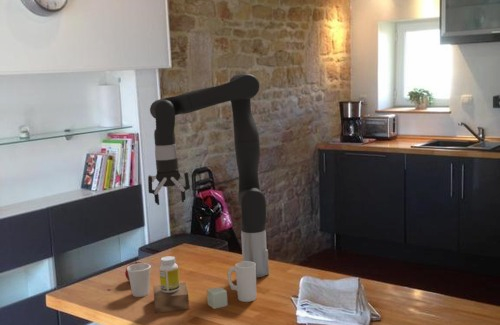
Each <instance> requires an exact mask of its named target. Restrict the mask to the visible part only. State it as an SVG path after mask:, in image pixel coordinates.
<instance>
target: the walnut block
mask: <svg viewBox="0 0 500 325" xmlns="http://www.w3.org/2000/svg"><path fill="white" fill-rule="evenodd" d="M152 286H153V287H152V288H153V289H152V290H153V300H154V302H153V303H154V312H155V313H156V314H157V313H165V312H173V311H182V310H189V309H190V303H189V293H188V292H189V291H188V289H187V283H186V282H179V290H178V291H176V292H173V293H164V292H162V291H161V284H160V285H152Z"/></svg>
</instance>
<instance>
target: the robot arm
mask: <svg viewBox="0 0 500 325" xmlns="http://www.w3.org/2000/svg"><path fill="white" fill-rule="evenodd" d="M259 91H260V82H259V79H258V78H257V77H256V76H255V75H253V74H251V73H237V74H235V75H233V76H232V77H231V78H230V79H229V81H228V82H226V83H223V84H219V85H214V86H210V87H204V88H199V89H195V90H191V91H187V92H185V93H184V92H183V93H181V94H178V95H175V96H170V97H164V98H160V99H156V100H155V101H154V102H152V103H151V105H150V107H149V112H150V115H151V116H152V117H153V118H154V119H155V130H154V133H153V136H154V137H153V139H154V144H155V145H154V155H155V165H156V168H155V169H156V175H151V174H149V175H148V176H147V184H148V185H147V186H148V189H147V190H148V193H149V194H153V195H154V202H155V204H156V205H157V206H159V205H160V195H159V192H160V190H161V189H162V188H163V187H164V188H167V187H175V186H177V188H178V189H179V190H180V201H181V203H184V202H185V201H186V191H187V190H190V188H191V186H190V178H189V173H188V172H187V171H184V172H180V170H179V160H178V150H177V145H176V136H175V134H176V133H175V126H176V125H175V124H176V116H177V115H183V114H190V113H194V112H196V111H200V110H204V109H206V108H209V107H212V106H216V105H218V104H219V105H220V104H223V103H227V102H230V106H231V111H232V124H233V135H234V136H233V139H234V152H235V159H236V166H237V171H238V172H237V173H238V197H237V198H238V203H239V205H240V208H241V210H240V211H241V223H240V231H241V232H240V233H241V234H240V235H241V236H240V237H241V250H242V251H241V253H242V254H241V255H242V256H241V257H242V262H243V261H250V262H254V263H255V264H256V265H255V266H256V279H257V278H261V277H262V278H263V277H265V276H269V275H270V268H269V251H268V249H267V234H266V231H267V230H266V226H267V225H266V224H267V202H266V197H265V194H264V193H263V192H262V191H261V188H260V181H259V164H260V156H261V146H260V135H259V130H258V127H257V124H256V122H255V119H254V117H253V114H252V113H253V112H252V107H251V104H252V103H251V99H253V98H254V97H256V96H257V95H258V93H259ZM180 178H182V179H183V180H184V183H185V185H184V186H183V185H182V184H181V183H180V182H179V180H180ZM155 180H156V181H157V182H158V184H157V185H156V187H155V189H153V183H154V182H155Z"/></svg>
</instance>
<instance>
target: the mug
mask: <svg viewBox="0 0 500 325" xmlns="http://www.w3.org/2000/svg"><path fill="white" fill-rule="evenodd" d="M255 265H256V264H255V263H254V262H250V261H243V260H242V261H240V262H239V261H238V262H236V263H235V265H234V266H235V267H234V266H229V270H228V273H227V281H228V284H229V286H230V290H233V291H237V300H239V301H240V302H243V303H249V302H253V301H255V300H256V299H257V278H256V266H255ZM232 272H235V278H236V284H234V283H233V281H232Z"/></svg>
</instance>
